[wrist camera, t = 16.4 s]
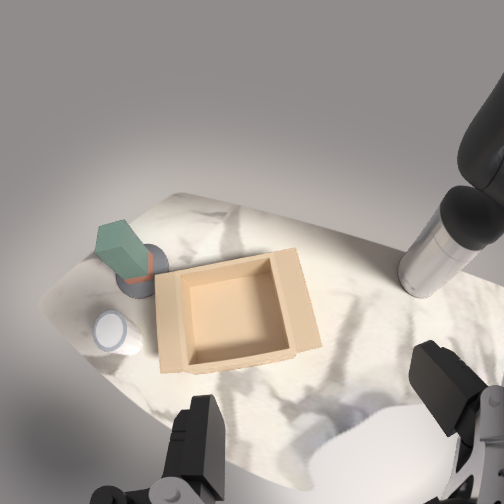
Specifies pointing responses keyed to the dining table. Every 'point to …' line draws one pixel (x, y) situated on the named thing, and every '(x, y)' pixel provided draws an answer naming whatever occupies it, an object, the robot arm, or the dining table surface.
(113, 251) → the box
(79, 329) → the dining table surface
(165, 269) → the slate plate
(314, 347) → the carton
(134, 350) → the white cup
